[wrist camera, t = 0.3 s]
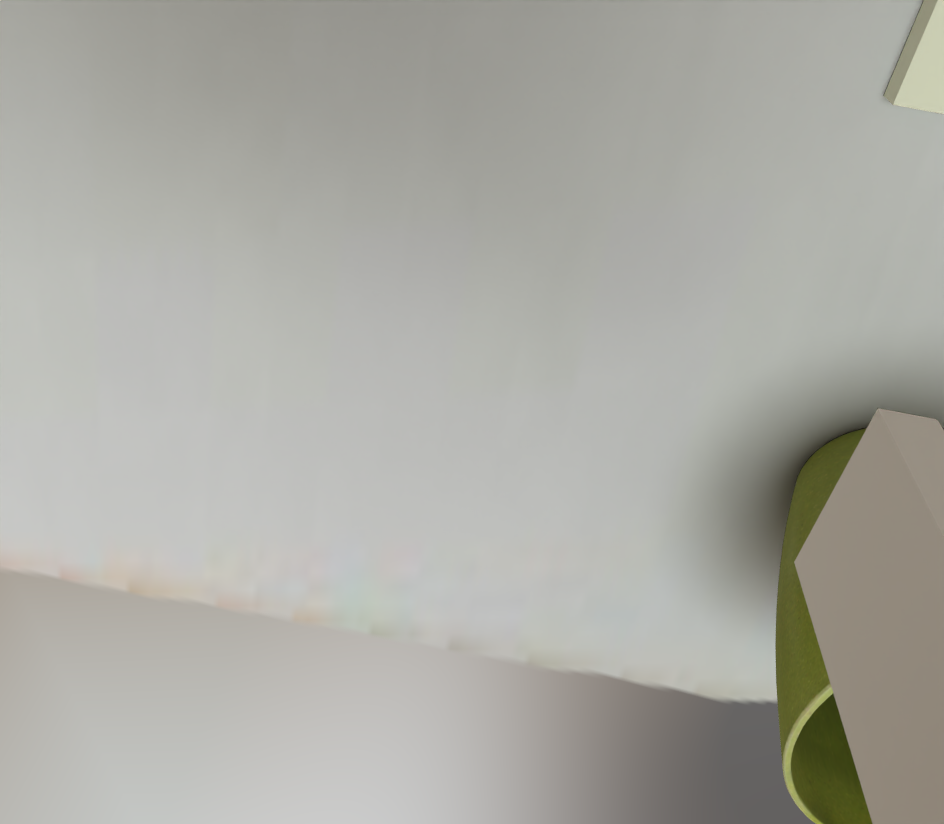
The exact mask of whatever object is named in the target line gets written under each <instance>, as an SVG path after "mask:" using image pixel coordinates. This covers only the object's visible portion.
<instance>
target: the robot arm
mask: <svg viewBox="0 0 944 824" xmlns="http://www.w3.org/2000/svg"><path fill="white" fill-rule="evenodd" d="M794 563H795V567H796V570H797V573H798V577H799V580H800V583H801V587H802V590H803V593H804V597H805V600H806V603H807V607H808V610H809V613H810V617H811V620H812V623H813V627H814V630H815V633H816V637H817V640H818V643H819V647H820V650H821V653H822V657H823V660H824V663H825V667H826V670H827V674H828V677H829V680H830V684H831V687H832V690H833V694H834V697H835V700H836V704H837V707H838V710H839V714H840V717H841V720H842V724H843V727H844V730H845V734H846V737H847V740H848V744H849V747H850V750H851V754H852V757H853V760H854V764H855V767H856V770H857V774H858V777H859V780H860V784H861V787H862V790H863V794H864V797H865V800H866V804H867V807H868V810H869V814H870V817H871V820H872V824H944V430H943V428H942V426H941V425H940V423H939V421H938V420H937V419H933V418H927V417H922V416H917V415H912V414H906V413H901V412H896V411H890V410H885V409H880V408H878V409H877V411H876V412H875V414H874V416H873V418H872V420H871V422H870V423H869V425H868V427H867V429H866V431H865V433H864V434H863V436H862V438H861V440H860V442H859V444H858V446H857V447H856V449H855V451H854V453H853V455H852V457H851V458H850V460H849V462H848V464H847V466H846V468H845V469H844V471H843V473H842V475H841V477H840V479H839V480H838V482H837V484H836V486H835V488H834V490H833V492H832V493H831V495H830V497H829V499H828V501H827V503H826V504H825V506H824V508H823V510H822V512H821V514H820V515H819V517H818V519H817V521H816V523H815V525H814V526H813V528H812V530H811V532H810V534H809V536H808V538H807V539H806V541H805V543H804V545H803V547H802V549H801V550H800V552H799V554H798V556H797V558H796V560H795V561H794Z"/></svg>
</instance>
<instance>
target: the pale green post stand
mask: <svg viewBox="0 0 944 824" xmlns="http://www.w3.org/2000/svg"><path fill="white" fill-rule="evenodd" d="M884 97H885V98H886V99H888V100H889V101H890V102H891V103H892V104H893V105H897V106H902V107H908V108H913V109H919V110H924V111H930V112H935V113H941V114H944V0H924V1H923V3H922V6H921V8H920V11H919V13H918V15H917V18H916V20H915V22H914V25H913V27H912V30H911V32H910V34H909V37H908V39H907V41H906V44H905V46H904V49H903V51H902V53H901V56H900V58H899V61H898V63H897V65H896V68H895V70H894V72H893V75H892V77H891V80H890V82H889V84H888V87H887V89H886V91H885V94H884Z"/></svg>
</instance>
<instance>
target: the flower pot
mask: <svg viewBox="0 0 944 824" xmlns="http://www.w3.org/2000/svg"><path fill="white" fill-rule="evenodd" d="M866 429H867V428H866ZM866 429H861V430H857V431H854V432H850V433H848V434H845V435H842V436H840V437H838V438H836V439H834V440H832V441H830V442H829V443H827V444H826V445H824V446H823V447H821V448H820V449H819V450H817V451H816V452H815V453H814V454H813V455H812V456H811V457H810V458H809V460H808V461H807V462H806V463H805V465H804V466H803V468H802V469H801V471H800V473H799V475H798V477H797V481H796V485H795V488H794V492H793V496H792V501H791V505H790V510H789V514H788V519H787V524H786V530H785V535H784V541H783V548H782V556H781V564H780V574H779V584H778V596H777V613H776V683H777V699H778V713H779V725H780V726H779V727H780V740H781V752H782V764H783V774H784V779H785V783H786V786H787V789H788V791H789V793H790V795H791V797H792V798H793V800H794V802H795V803H796V805H797V806H798V807H799V808H800V810H801V811H802V812H803V813H804V814H805V815H806V816H807V817H808V818H809V819H811V820H812V821H813V822H814V823H816V824H872V820H871V817H870V814H869V810H868V807H867V804H866V800H865V797H864V794H863V790H862V787H861V784H860V780H859V777H858V774H857V770H856V767H855V764H854V760H853V757H852V754H851V750H850V747H849V744H848V740H847V737H846V734H845V730H844V727H843V724H842V720H841V717H840V714H839V710H838V707H837V704H836V700H835V697H834V694H833V690H832V687H831V684H830V680H829V677H828V674H827V670H826V667H825V663H824V660H823V657H822V653H821V650H820V647H819V643H818V640H817V637H816V633H815V630H814V627H813V623H812V620H811V617H810V613H809V610H808V607H807V603H806V600H805V597H804V593H803V590H802V587H801V583H800V580H799V577H798V573H797V570H796V567H795V563H794V561H795V560H796V558H797V556H798V554H799V552H800V550H801V549H802V547H803V545H804V543H805V541H806V539H807V538H808V536H809V534H810V532H811V530H812V528H813V526H814V525H815V523H816V521H817V519H818V517H819V515H820V514H821V512H822V510H823V508H824V506H825V504H826V503H827V501H828V499H829V497H830V495H831V493H832V492H833V490H834V488H835V486H836V484H837V482H838V480H839V479H840V477H841V475H842V473H843V471H844V469H845V468H846V466H847V464H848V462H849V460H850V458H851V457H852V455H853V453H854V451H855V449H856V447H857V446H858V444H859V442H860V440H861V438H862V436H863V434H864V433H865V431H866Z"/></svg>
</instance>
